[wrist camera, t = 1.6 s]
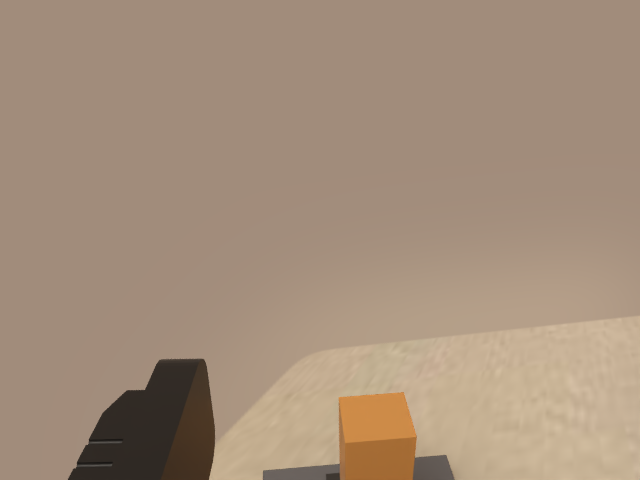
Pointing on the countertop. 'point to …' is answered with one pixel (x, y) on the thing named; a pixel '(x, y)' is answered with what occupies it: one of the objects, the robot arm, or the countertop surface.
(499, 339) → the countertop surface
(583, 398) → the countertop surface
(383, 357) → the countertop surface
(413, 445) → the handle
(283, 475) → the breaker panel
